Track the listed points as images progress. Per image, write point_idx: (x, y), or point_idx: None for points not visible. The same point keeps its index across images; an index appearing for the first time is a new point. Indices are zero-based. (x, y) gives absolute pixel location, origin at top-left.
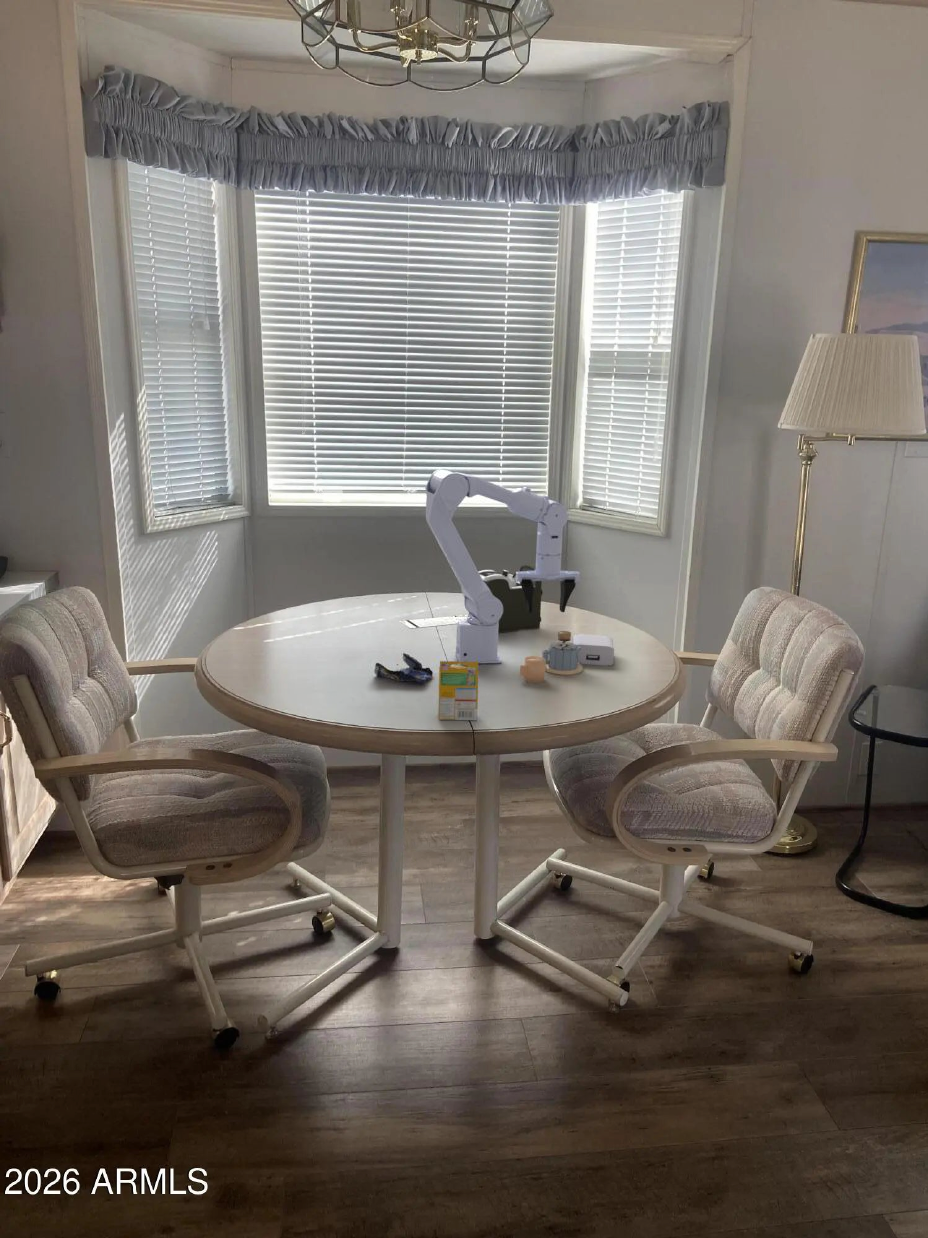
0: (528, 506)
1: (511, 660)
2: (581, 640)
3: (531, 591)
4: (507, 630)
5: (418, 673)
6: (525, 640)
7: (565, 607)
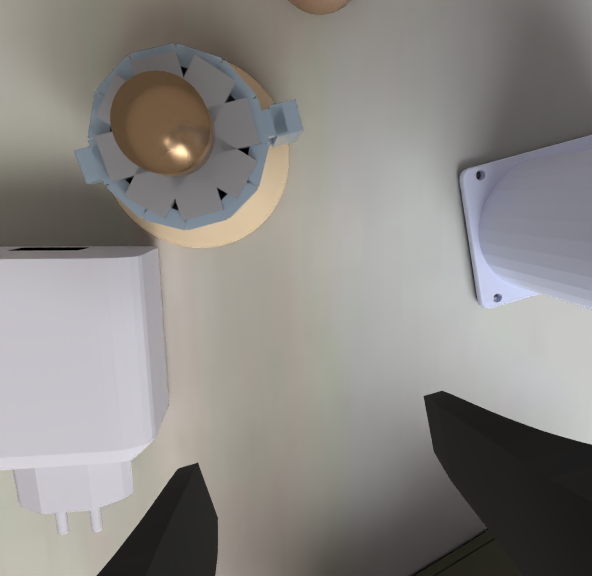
0: None
1: (416, 229)
2: (95, 337)
3: (586, 481)
4: (430, 571)
5: None
6: (361, 493)
7: (160, 494)
